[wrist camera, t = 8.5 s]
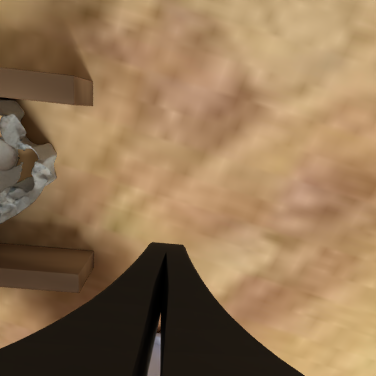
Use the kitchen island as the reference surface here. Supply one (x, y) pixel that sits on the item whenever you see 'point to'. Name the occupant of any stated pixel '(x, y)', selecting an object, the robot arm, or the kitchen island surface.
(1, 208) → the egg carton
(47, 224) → the kitchen island surface
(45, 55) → the kitchen island surface
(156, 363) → the robot arm
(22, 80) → the dock
